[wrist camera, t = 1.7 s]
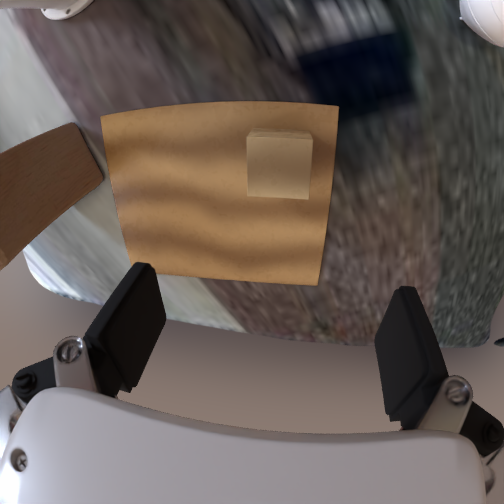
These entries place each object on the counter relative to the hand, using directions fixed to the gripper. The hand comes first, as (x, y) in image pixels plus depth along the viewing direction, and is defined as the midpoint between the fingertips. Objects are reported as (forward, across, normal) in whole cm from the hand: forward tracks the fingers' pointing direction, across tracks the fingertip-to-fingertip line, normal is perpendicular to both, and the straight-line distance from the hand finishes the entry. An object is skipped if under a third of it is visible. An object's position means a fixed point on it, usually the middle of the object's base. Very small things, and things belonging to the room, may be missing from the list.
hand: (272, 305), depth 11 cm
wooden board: (+23, +9, +6) cm, 26 cm away
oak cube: (+23, +1, 0) cm, 23 cm away
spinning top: (+23, -20, -21) cm, 37 cm away
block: (+23, +30, +1) cm, 38 cm away
